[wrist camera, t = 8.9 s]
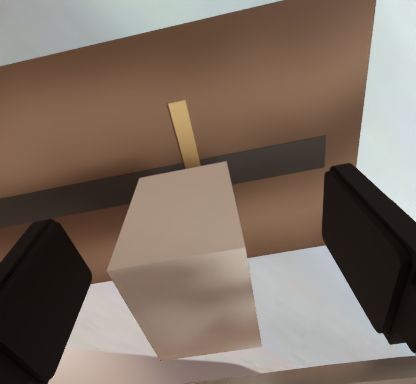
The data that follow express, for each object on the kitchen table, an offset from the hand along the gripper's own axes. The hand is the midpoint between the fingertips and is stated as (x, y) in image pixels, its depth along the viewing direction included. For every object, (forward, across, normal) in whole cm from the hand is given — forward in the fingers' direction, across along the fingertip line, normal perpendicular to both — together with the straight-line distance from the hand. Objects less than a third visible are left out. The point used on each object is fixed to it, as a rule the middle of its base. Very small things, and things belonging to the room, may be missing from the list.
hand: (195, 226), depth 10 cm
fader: (+3, 0, 0) cm, 3 cm away
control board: (+7, +4, 0) cm, 8 cm away
